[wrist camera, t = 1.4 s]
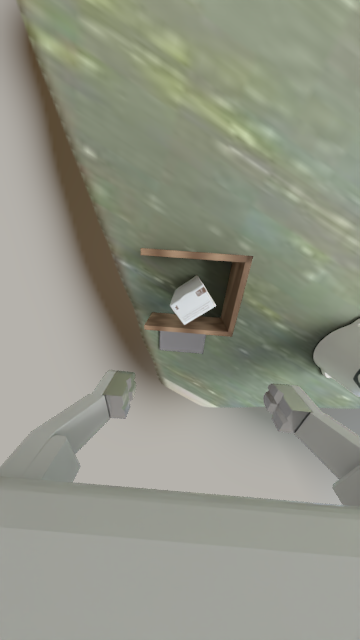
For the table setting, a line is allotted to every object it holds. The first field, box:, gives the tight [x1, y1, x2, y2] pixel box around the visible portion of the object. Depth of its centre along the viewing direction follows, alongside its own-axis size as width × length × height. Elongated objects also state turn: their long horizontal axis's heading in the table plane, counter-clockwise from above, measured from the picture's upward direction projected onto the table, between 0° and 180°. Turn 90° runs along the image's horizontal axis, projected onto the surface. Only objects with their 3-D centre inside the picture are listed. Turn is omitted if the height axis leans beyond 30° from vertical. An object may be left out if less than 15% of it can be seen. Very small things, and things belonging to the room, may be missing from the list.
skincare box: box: [170, 275, 216, 325], centre depth 26 cm, size 6×4×12 cm
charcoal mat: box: [160, 331, 206, 354], centre depth 37 cm, size 12×8×1 cm, turn 86°
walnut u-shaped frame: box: [141, 248, 253, 337], centre depth 29 cm, size 18×15×7 cm
